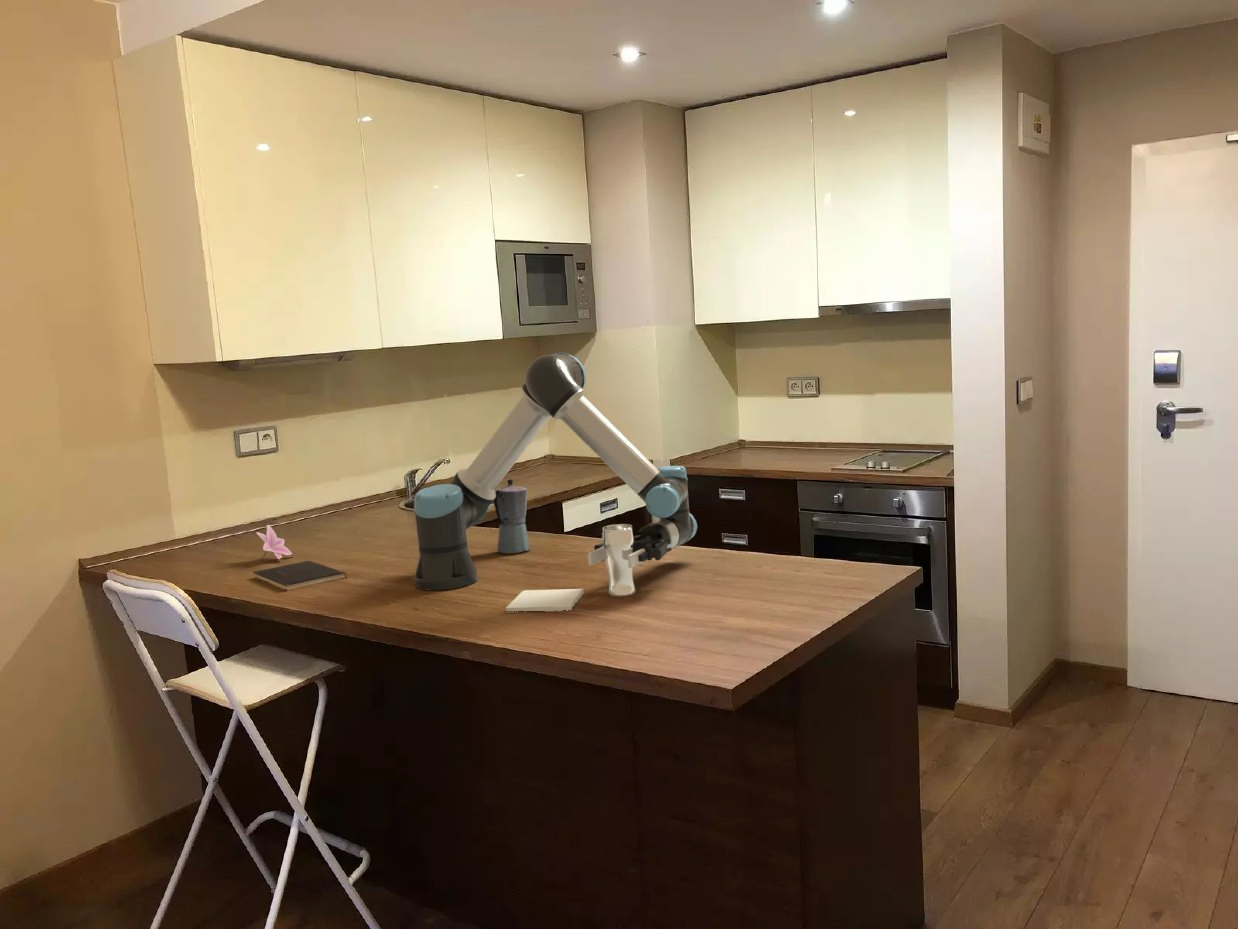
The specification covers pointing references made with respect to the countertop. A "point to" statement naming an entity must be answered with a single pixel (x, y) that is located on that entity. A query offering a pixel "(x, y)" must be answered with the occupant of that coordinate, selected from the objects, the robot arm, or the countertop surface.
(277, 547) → the lily
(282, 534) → the countertop surface
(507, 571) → the countertop surface
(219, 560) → the countertop surface
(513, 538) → the moka pot
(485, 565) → the countertop surface
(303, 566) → the hardcover book
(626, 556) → the beer glass
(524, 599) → the mat
